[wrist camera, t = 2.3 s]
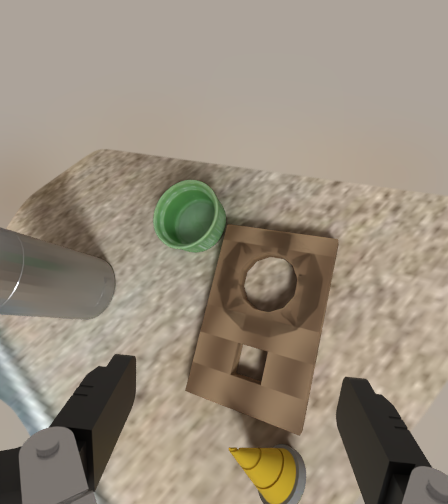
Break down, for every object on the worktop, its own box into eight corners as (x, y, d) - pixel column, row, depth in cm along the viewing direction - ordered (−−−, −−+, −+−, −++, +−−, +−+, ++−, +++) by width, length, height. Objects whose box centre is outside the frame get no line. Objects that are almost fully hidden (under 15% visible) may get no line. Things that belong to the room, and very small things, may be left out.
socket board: (193, 388, 38) (185, 390, 36) (232, 228, 41) (227, 223, 39) (302, 430, 33) (299, 435, 31) (338, 243, 36) (337, 239, 34)
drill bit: (277, 510, 32) (201, 472, 29) (292, 453, 35) (224, 413, 32) (318, 534, 28) (233, 493, 25) (332, 467, 31) (257, 422, 28)
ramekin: (234, 192, 42) (222, 177, 38) (226, 258, 41) (212, 249, 37) (175, 194, 46) (159, 180, 42) (165, 255, 44) (147, 247, 40)
